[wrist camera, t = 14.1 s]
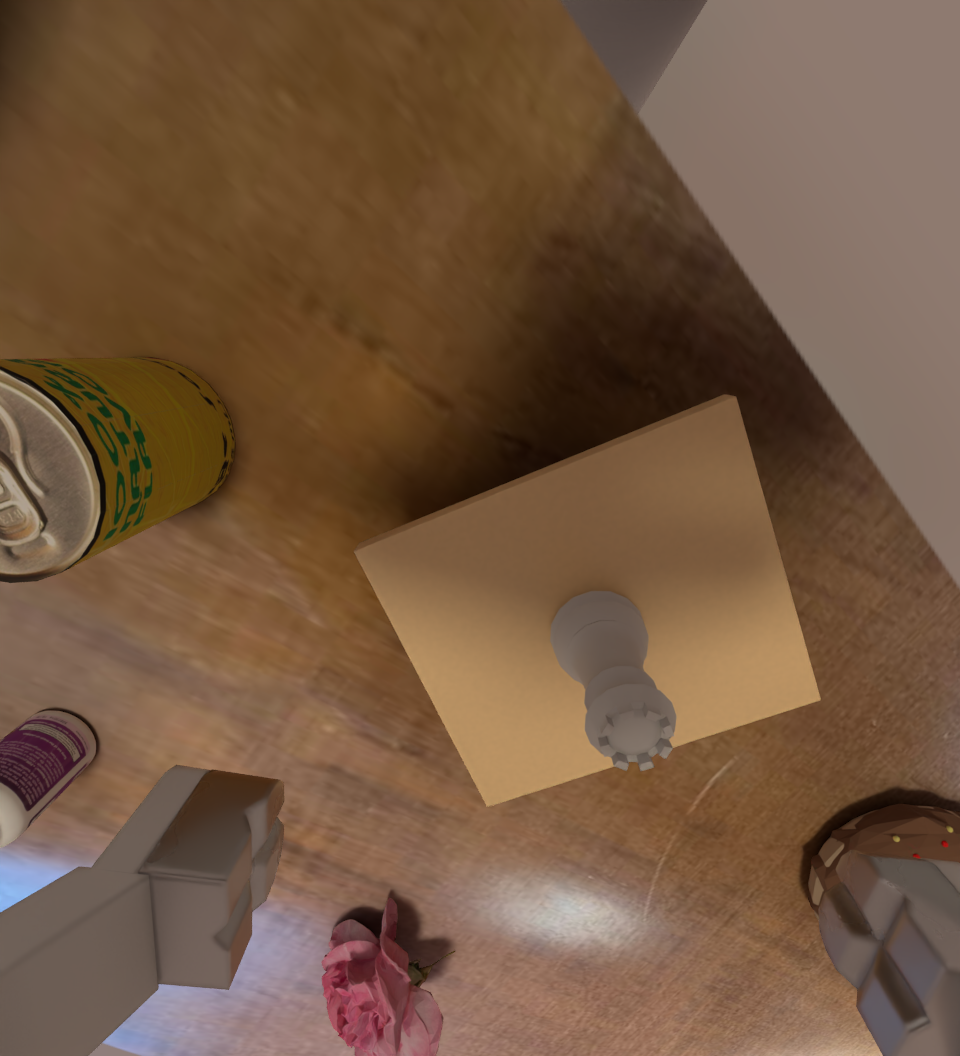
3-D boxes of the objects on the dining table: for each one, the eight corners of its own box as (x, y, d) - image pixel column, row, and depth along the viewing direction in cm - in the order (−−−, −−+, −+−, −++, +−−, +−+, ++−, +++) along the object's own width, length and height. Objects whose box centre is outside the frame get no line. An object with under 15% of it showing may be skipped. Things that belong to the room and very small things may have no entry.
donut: (969, 919, 44) (1027, 988, 39) (792, 930, 44) (828, 1000, 40) (997, 772, 39) (1067, 830, 35) (801, 788, 40) (843, 847, 35)
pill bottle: (21, 702, 39) (-122, 809, 30) (96, 712, 39) (-24, 821, 30) (30, 763, 41) (-103, 882, 32) (102, 772, 41) (-11, 893, 32)
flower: (336, 924, 50) (258, 984, 41) (418, 864, 48) (357, 912, 39) (397, 1064, 46) (325, 1167, 36) (490, 1003, 44) (439, 1094, 35)
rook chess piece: (646, 662, 27) (707, 784, 19) (555, 675, 27) (580, 801, 20) (637, 578, 26) (698, 675, 18) (542, 594, 26) (562, 694, 18)
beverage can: (176, 329, 31) (-5, 315, 20) (263, 468, 34) (146, 527, 22) (54, 401, 33) (-180, 427, 21) (146, 530, 35) (-21, 615, 24)
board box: (669, 383, 32) (736, 395, 23) (741, 615, 36) (821, 700, 27) (388, 500, 34) (353, 551, 25) (488, 704, 39) (487, 807, 30)
